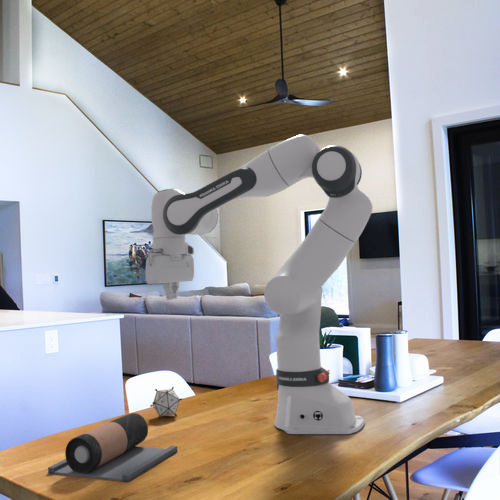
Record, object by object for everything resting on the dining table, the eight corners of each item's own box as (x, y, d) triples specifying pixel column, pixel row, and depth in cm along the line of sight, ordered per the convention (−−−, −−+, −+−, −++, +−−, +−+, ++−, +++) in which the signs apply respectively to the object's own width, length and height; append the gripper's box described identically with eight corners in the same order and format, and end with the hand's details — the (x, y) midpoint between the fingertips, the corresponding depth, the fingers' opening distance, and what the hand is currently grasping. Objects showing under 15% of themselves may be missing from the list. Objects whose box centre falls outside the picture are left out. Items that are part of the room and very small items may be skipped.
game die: (171, 431, 161) (174, 407, 156) (144, 420, 163) (145, 396, 157) (184, 408, 168) (187, 384, 163) (158, 398, 170) (160, 374, 165)
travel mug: (134, 405, 136) (78, 429, 118) (155, 429, 134) (101, 458, 116) (116, 426, 138) (58, 453, 120) (136, 451, 136) (80, 482, 118)
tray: (177, 451, 131) (177, 446, 131) (128, 481, 113) (128, 475, 113) (104, 445, 138) (104, 440, 138) (48, 473, 121) (48, 467, 121)
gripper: (159, 247, 147) (161, 301, 147) (196, 248, 166) (199, 296, 166) (138, 249, 150) (140, 302, 149) (177, 249, 169) (180, 297, 168)
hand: (171, 299), depth 158 cm, fingers closed
